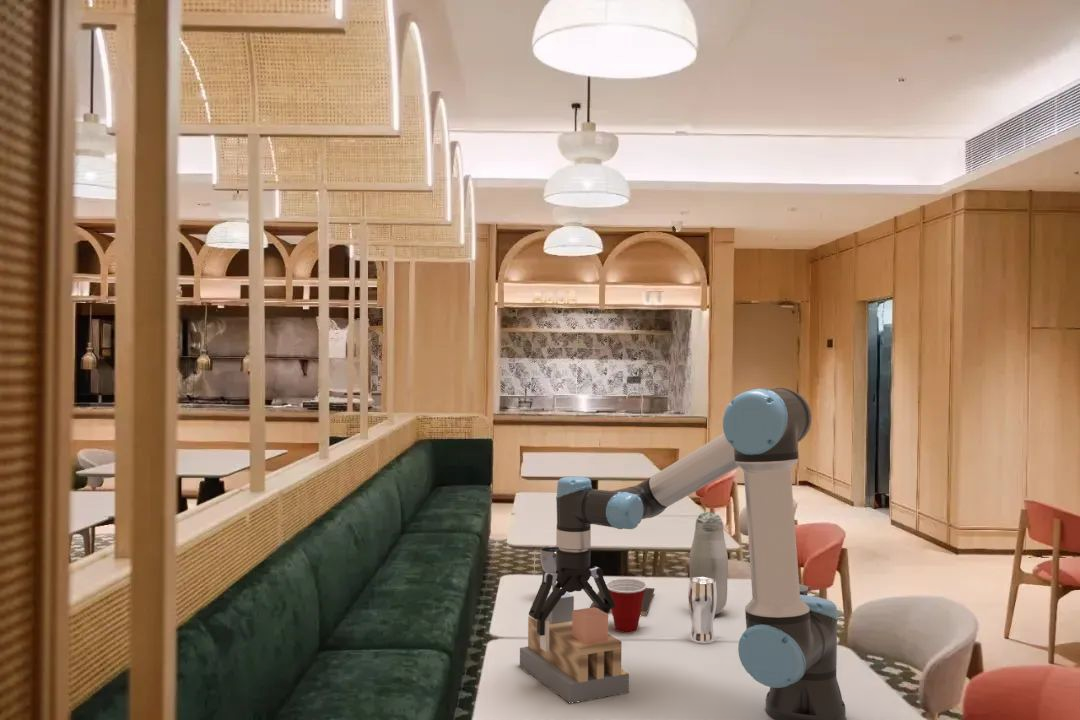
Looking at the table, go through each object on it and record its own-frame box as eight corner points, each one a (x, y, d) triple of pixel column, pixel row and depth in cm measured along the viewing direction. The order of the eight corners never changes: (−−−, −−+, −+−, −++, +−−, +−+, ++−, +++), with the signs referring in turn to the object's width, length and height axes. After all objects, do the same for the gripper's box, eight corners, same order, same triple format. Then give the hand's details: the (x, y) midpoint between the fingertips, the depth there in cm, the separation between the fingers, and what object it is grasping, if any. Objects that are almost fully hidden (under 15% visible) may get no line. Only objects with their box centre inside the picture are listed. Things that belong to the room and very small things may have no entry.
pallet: (621, 674, 178) (621, 641, 178) (579, 682, 174) (579, 648, 174) (566, 640, 200) (566, 610, 200) (528, 646, 195) (528, 616, 195)
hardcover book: (654, 596, 255) (654, 588, 255) (647, 618, 233) (647, 610, 233) (601, 592, 259) (601, 584, 259) (588, 614, 236) (589, 606, 236)
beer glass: (716, 645, 210) (717, 584, 210) (687, 643, 211) (688, 582, 211) (716, 636, 217) (716, 577, 217) (688, 634, 218) (689, 575, 218)
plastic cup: (598, 632, 219) (598, 585, 219) (614, 620, 229) (615, 575, 229) (637, 638, 214) (638, 590, 214) (652, 627, 224) (653, 581, 224)
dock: (632, 691, 180) (632, 672, 180) (570, 703, 173) (570, 683, 173) (577, 655, 201) (577, 638, 201) (519, 665, 195) (519, 647, 195)
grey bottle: (683, 610, 239) (684, 510, 239) (715, 607, 242) (716, 508, 242) (700, 620, 230) (701, 516, 229) (733, 617, 233) (734, 514, 233)
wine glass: (535, 598, 249) (535, 547, 249) (559, 595, 252) (560, 545, 252) (547, 606, 242) (547, 553, 242) (572, 603, 245) (572, 550, 245)
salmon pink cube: (607, 640, 179) (608, 614, 179) (585, 644, 177) (585, 617, 177) (594, 632, 184) (594, 607, 184) (572, 636, 182) (572, 610, 182)
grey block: (573, 620, 192) (573, 596, 192) (551, 623, 190) (552, 599, 190) (562, 614, 197) (562, 590, 197) (540, 617, 195) (541, 592, 195)
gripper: (613, 540, 196) (612, 632, 196) (514, 549, 185) (513, 648, 185) (630, 546, 189) (629, 642, 189) (529, 557, 178) (528, 659, 178)
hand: (572, 645), depth 187 cm, fingers open, 13 cm apart
